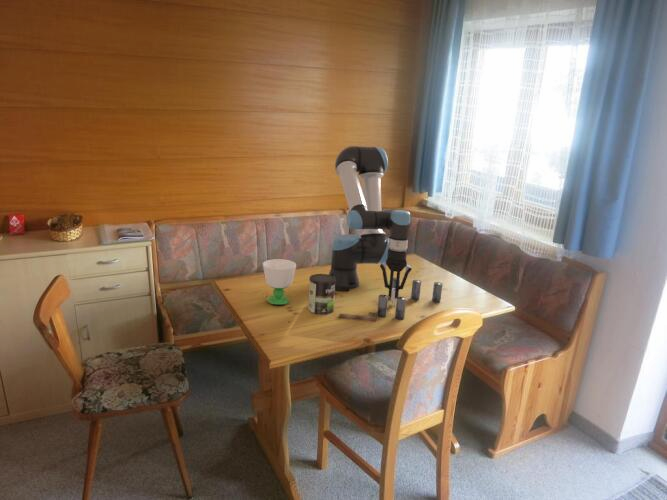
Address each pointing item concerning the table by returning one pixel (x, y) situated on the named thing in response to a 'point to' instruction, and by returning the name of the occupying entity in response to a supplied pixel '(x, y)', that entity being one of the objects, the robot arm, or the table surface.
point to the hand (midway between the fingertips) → (392, 304)
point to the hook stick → (359, 317)
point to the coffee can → (321, 294)
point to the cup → (279, 278)
